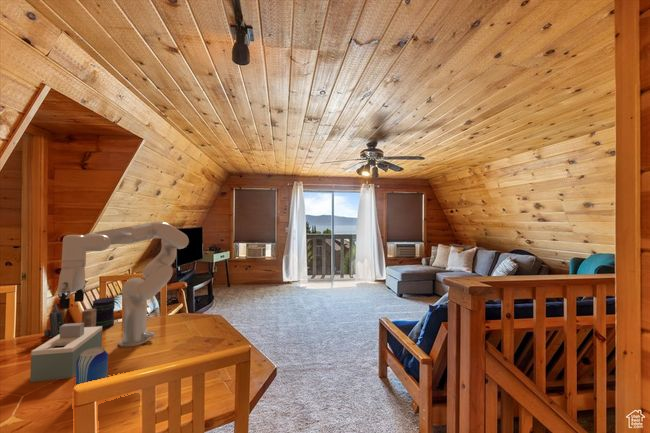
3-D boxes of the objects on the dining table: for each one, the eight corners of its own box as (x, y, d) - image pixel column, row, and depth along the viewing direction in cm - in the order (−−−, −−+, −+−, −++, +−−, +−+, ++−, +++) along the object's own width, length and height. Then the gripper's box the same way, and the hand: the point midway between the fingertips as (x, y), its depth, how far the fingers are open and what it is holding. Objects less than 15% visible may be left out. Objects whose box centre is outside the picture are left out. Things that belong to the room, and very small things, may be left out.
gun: (47, 306, 146) (62, 303, 140) (50, 339, 144) (65, 337, 138) (40, 308, 144) (55, 304, 138) (43, 341, 142) (58, 339, 136)
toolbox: (101, 351, 129) (102, 329, 129) (71, 377, 107) (72, 351, 107) (67, 353, 125) (68, 331, 125) (30, 382, 104) (31, 355, 104)
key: (95, 340, 139) (96, 308, 139) (90, 344, 135) (91, 311, 135) (86, 341, 138) (87, 308, 138) (81, 344, 134) (82, 311, 134)
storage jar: (87, 328, 153) (88, 301, 154) (107, 322, 163) (108, 296, 163) (98, 331, 150) (99, 303, 150) (118, 325, 159) (119, 298, 159)
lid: (102, 329, 129) (102, 315, 129) (72, 351, 107) (73, 335, 107) (68, 331, 125) (68, 317, 125) (31, 355, 104) (31, 337, 104)
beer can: (87, 390, 100) (89, 346, 100) (112, 389, 101) (113, 345, 101) (68, 406, 92) (69, 357, 92) (95, 405, 92) (96, 357, 93)
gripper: (75, 261, 125) (73, 299, 125) (48, 267, 108) (46, 311, 108) (95, 261, 127) (93, 298, 126) (71, 267, 110) (69, 311, 110)
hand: (71, 304), depth 117 cm, fingers open, 9 cm apart
